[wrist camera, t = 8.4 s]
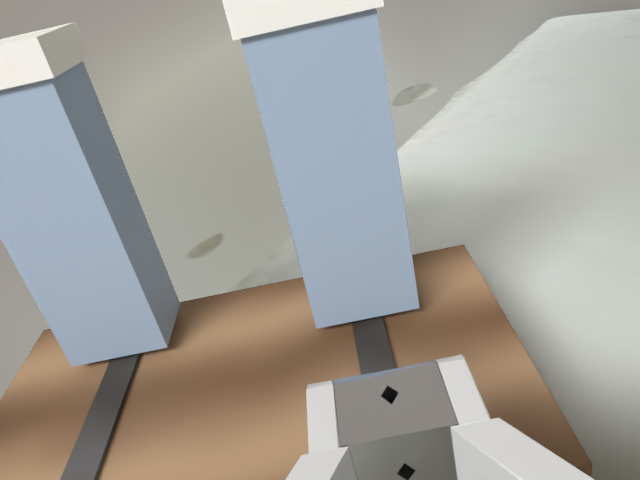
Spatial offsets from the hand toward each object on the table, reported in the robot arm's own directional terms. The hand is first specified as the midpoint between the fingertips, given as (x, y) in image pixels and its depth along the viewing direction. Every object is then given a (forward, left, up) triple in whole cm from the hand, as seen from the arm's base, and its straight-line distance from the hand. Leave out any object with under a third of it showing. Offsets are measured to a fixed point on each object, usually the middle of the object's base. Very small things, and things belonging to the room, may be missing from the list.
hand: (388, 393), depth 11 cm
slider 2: (+5, -9, -5) cm, 12 cm away
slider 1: (+14, -5, -5) cm, 16 cm away
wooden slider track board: (+8, -4, -10) cm, 13 cm away
